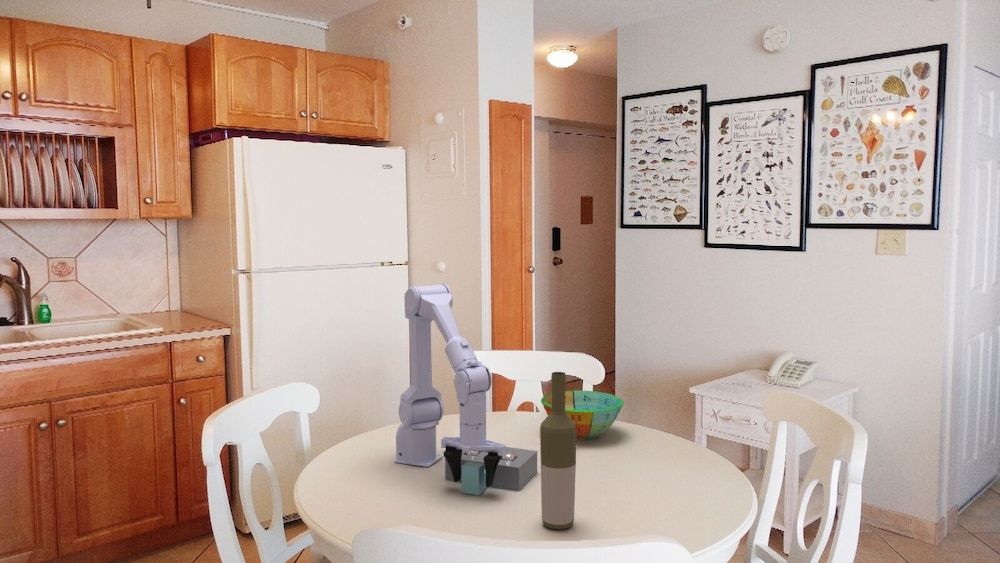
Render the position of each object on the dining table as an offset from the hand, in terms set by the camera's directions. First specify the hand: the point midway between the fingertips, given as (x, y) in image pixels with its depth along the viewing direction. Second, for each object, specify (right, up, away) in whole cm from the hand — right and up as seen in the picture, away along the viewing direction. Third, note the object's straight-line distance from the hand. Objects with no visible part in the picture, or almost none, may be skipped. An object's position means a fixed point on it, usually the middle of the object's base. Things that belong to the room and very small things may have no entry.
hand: (473, 483), depth 155 cm
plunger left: (-1, +2, +10) cm, 11 cm away
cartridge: (+2, -1, +6) cm, 6 cm away
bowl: (+28, +1, +40) cm, 49 cm away
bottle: (+17, -4, -16) cm, 24 cm away
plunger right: (+8, +2, +7) cm, 11 cm away
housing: (+4, -1, +10) cm, 11 cm away
